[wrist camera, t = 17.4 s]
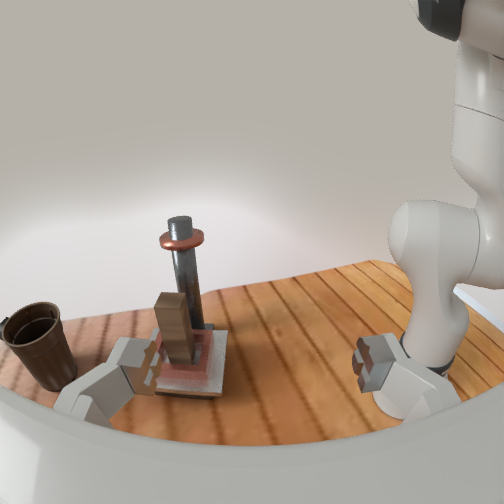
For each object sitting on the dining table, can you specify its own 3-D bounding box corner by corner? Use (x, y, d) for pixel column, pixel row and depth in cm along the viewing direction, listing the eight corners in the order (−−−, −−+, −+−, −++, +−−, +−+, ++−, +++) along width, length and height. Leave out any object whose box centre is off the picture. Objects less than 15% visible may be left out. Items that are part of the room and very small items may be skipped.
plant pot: (74, 343, 58) (52, 293, 51) (94, 380, 48) (66, 326, 41) (29, 366, 47) (1, 316, 40) (41, 407, 37) (3, 356, 30)
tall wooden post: (192, 365, 48) (179, 308, 42) (170, 364, 48) (153, 307, 42) (195, 349, 52) (185, 292, 46) (174, 348, 52) (161, 292, 46)
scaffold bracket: (224, 410, 45) (204, 274, 32) (141, 402, 45) (87, 272, 32) (231, 325, 68) (224, 211, 56) (168, 323, 68) (147, 214, 56)
